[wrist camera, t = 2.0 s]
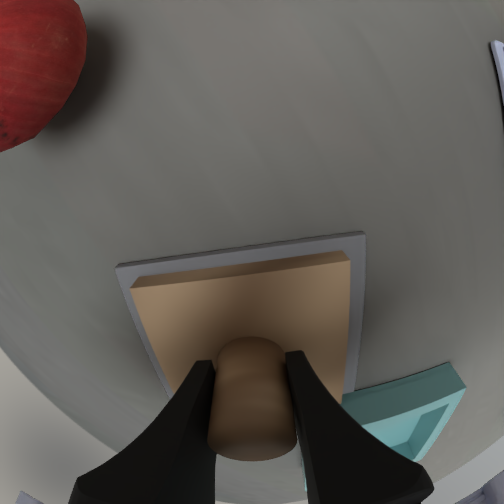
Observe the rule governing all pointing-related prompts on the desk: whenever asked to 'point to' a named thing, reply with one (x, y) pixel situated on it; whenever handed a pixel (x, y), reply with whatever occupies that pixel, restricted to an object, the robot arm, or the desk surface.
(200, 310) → the lid
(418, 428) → the dish
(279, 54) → the desk surface
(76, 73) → the pomegranate
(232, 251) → the mat
